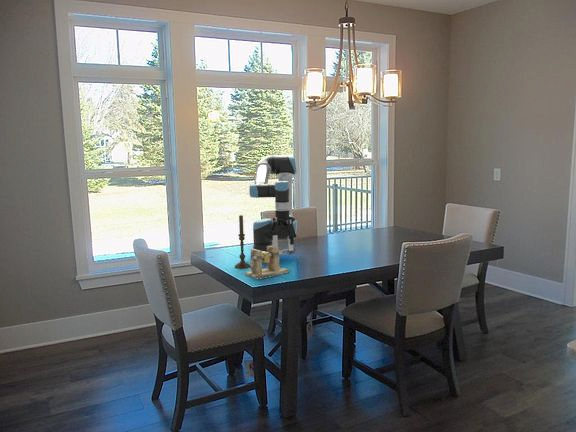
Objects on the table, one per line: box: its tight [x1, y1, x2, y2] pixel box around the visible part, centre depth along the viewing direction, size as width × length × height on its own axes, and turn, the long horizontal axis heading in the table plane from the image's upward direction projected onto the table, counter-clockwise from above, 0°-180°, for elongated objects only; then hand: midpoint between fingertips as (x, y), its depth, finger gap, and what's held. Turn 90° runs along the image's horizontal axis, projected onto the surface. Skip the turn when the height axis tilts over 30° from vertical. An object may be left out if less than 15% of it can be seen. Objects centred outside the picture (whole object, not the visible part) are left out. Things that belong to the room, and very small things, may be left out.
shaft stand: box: [245, 246, 290, 280], centre depth 251 cm, size 12×20×14 cm, turn 129°
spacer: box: [262, 251, 270, 264], centre depth 249 cm, size 5×3×5 cm, turn 39°
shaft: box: [253, 246, 296, 260], centre depth 253 cm, size 4×26×4 cm, turn 129°
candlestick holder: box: [234, 214, 251, 269], centre depth 265 cm, size 9×9×30 cm
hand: (283, 248), depth 256 cm, fingers open, 13 cm apart
